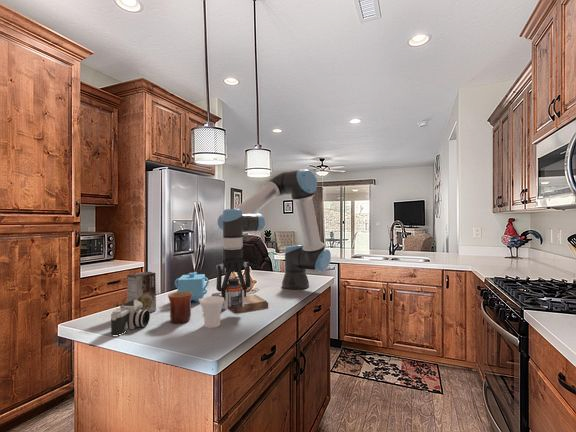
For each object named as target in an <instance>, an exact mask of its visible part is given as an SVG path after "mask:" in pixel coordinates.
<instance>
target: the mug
mask: <svg viewBox="0 0 576 432" xmlns="http://www.w3.org/2000/svg"><path fill="white" fill-rule="evenodd" d="M192 294H193V293H192V292H187V291H182V292H177V291H175V292H171V293H169V294H168V295H167V297H168V300H169V303H170V304H169V306H170V307H169V317H170V318H169V319H170V322H171V323H172V324H178V325H180V324H185V323H188V322H189V321H190V320H191V315H192V313H191V311H192V310H191V308H192V306H191V301H192V300H191V298H192Z"/></svg>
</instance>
